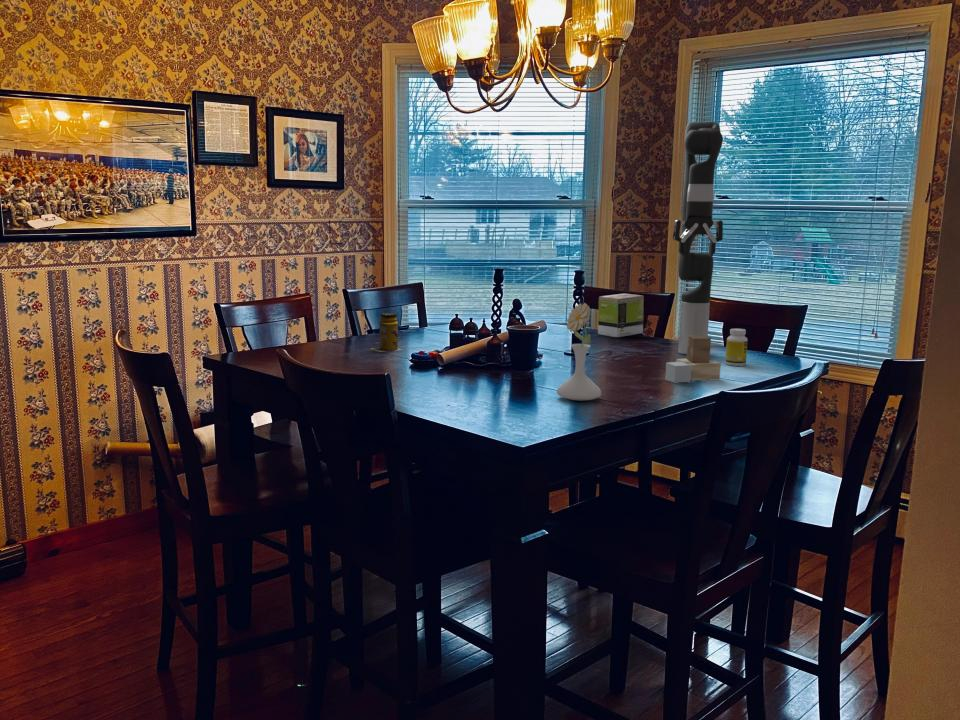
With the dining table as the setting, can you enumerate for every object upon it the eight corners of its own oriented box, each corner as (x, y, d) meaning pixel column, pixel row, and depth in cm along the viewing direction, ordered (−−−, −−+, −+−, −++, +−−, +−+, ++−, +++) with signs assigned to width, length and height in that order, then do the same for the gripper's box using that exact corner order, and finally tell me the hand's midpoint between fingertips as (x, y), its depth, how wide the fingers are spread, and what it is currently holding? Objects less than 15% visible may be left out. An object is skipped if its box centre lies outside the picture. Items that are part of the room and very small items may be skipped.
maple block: (675, 375, 245) (676, 359, 244) (701, 374, 248) (703, 357, 247) (691, 382, 236) (692, 364, 236) (719, 380, 239) (720, 363, 238)
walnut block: (686, 359, 243) (688, 335, 242) (703, 359, 244) (705, 335, 242) (692, 362, 239) (693, 338, 237) (709, 362, 239) (710, 338, 238)
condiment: (402, 350, 278) (402, 314, 276) (380, 352, 273) (380, 316, 271) (391, 346, 284) (391, 311, 282) (369, 349, 279) (369, 313, 277)
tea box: (623, 330, 326) (624, 292, 323) (643, 334, 318) (645, 295, 315) (596, 334, 316) (598, 295, 313) (617, 338, 309) (619, 298, 306)
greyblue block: (665, 379, 238) (666, 362, 237) (680, 378, 240) (681, 361, 239) (674, 383, 234) (675, 366, 233) (690, 382, 235) (691, 365, 234)
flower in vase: (553, 393, 219) (556, 298, 214) (596, 393, 220) (600, 298, 215) (561, 405, 206) (564, 305, 202) (607, 405, 207) (611, 305, 202)
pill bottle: (746, 366, 258) (749, 331, 256) (726, 365, 259) (728, 330, 257) (744, 363, 264) (747, 328, 262) (724, 362, 265) (726, 327, 263)
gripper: (719, 200, 250) (716, 254, 253) (672, 199, 249) (669, 254, 253) (728, 200, 243) (724, 256, 246) (679, 199, 242) (676, 256, 245)
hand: (696, 255), depth 249 cm, fingers open, 8 cm apart
